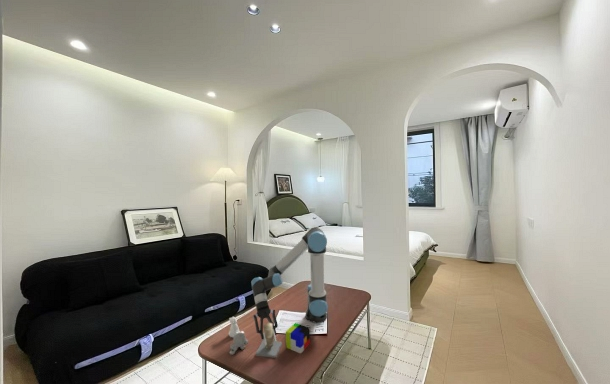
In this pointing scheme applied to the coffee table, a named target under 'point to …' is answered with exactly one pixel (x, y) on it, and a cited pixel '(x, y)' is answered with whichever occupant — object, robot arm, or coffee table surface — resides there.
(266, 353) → the board
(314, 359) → the coffee table surface
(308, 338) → the puzzle toy
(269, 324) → the birch tool handle
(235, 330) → the sitting furry creature
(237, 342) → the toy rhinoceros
